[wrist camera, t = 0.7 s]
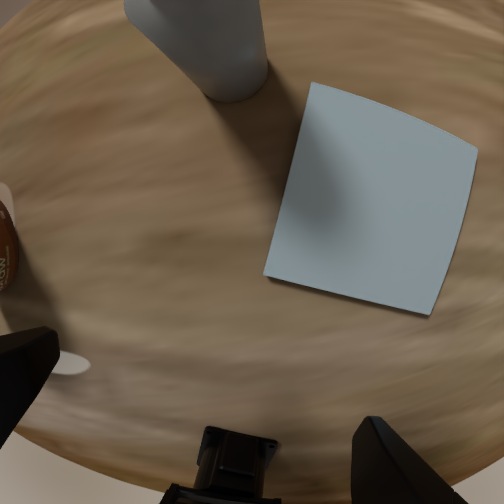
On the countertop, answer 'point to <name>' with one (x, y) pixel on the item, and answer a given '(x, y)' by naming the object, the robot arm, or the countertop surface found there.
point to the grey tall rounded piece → (208, 42)
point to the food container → (7, 249)
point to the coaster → (371, 202)
